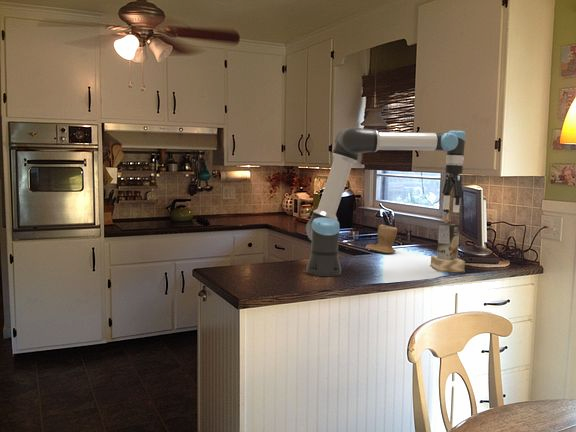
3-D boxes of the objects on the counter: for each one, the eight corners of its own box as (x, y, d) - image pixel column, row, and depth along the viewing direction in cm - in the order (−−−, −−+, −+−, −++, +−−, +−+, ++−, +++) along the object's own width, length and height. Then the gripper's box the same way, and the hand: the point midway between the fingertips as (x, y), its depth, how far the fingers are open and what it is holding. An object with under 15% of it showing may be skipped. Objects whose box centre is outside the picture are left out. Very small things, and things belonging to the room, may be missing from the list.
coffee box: (449, 260, 253) (452, 225, 252) (436, 258, 257) (438, 224, 256) (457, 258, 260) (460, 224, 259) (444, 256, 264) (447, 222, 263)
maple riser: (438, 271, 252) (438, 260, 252) (429, 266, 265) (430, 255, 264) (464, 272, 253) (465, 261, 253) (455, 266, 265) (456, 256, 265)
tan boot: (400, 253, 297) (402, 225, 295) (385, 255, 289) (387, 227, 288) (379, 249, 308) (380, 222, 307) (364, 250, 301) (366, 223, 299)
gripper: (472, 165, 241) (468, 214, 244) (453, 164, 266) (449, 208, 268) (455, 164, 241) (452, 213, 243) (437, 163, 266) (434, 207, 268)
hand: (450, 210), depth 256 cm, fingers open, 13 cm apart
